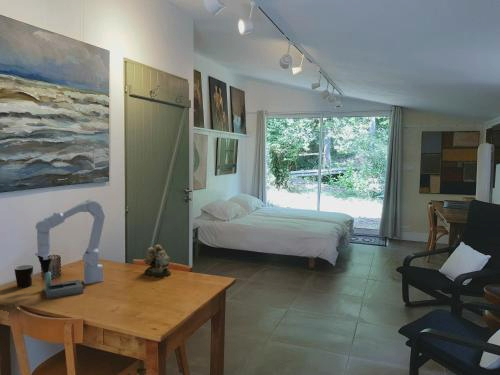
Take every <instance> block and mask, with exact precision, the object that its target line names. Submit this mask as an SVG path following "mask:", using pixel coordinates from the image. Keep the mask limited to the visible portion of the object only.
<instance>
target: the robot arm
mask: <svg viewBox="0 0 500 375" xmlns="http://www.w3.org/2000/svg"><path fill="white" fill-rule="evenodd" d="M78 213H89V214H90V215H91V217H93V223H92V227H91V232H90V236H89V241H88V246H87V247H86V249H85V252H84V253H83V255H82V261H83V262H84V264H83V278H82V282H83V283H84V284H85V285H88V284H95V283H101V282H104V266H103V264H102V263H99V262H100V257H99V254H100V253H99V252H100V251H99V246H100V242H101V237H102V231H103V226H104V223H105V222H104V221H105V218H106V216H105V213H104V210H103V208H102V205H101V204H100V203H99V202H98V201H95V200H92V199H88V200H85V201H82V202H80V203H78V204H76V205H75V206H73V207H71V208H69V209H67V210H66V211H64V212H54V213H52V215H51V216H48V217H44V218H43V219H41V220H38V221H37V222H36V224H35V229H36V232H37V233H36V234H37V235H36V243H37V245H36V247H37V252H36V253H34V255H35V256H37V258H38V261H39V263H40V267H41V269H42V272H43V274H45V273H47V272H50V271H49V270H50V264H51V262H52V261H53V260H52V259H53V258H49V257H50V256H51V255H52V250H51V235H50V231H51V229H54V228H55V227H58V226H59V225H61V224H63V223H65V221H66V219H67V218H71V217H72V216H74V215H76V214H78Z"/></svg>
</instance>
